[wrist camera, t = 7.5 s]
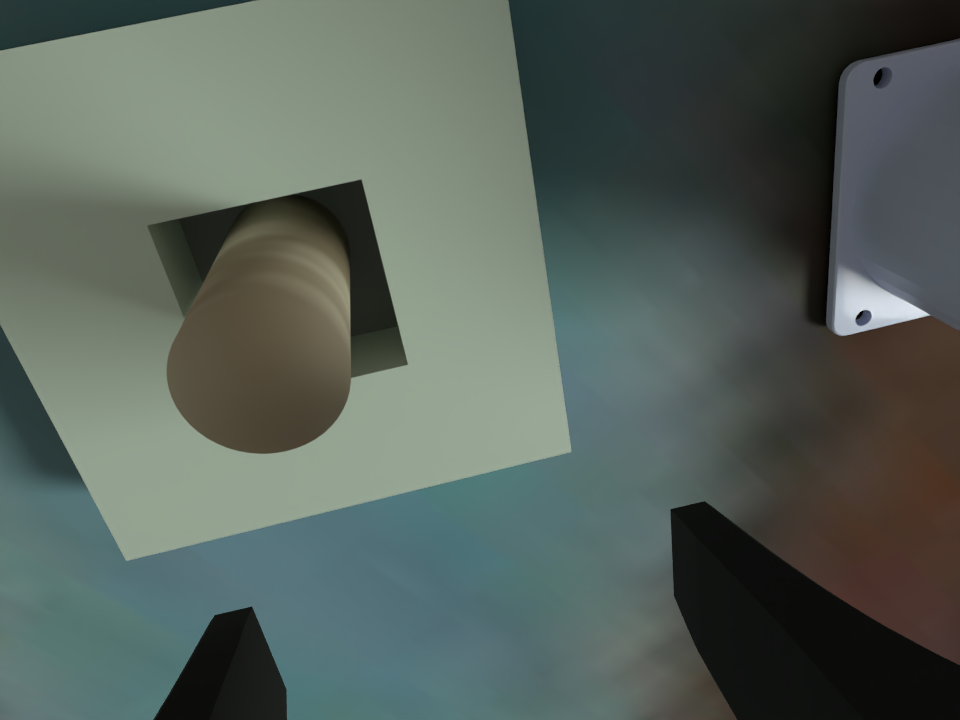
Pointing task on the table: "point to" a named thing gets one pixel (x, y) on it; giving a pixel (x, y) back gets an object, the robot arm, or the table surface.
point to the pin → (268, 331)
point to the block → (261, 176)
